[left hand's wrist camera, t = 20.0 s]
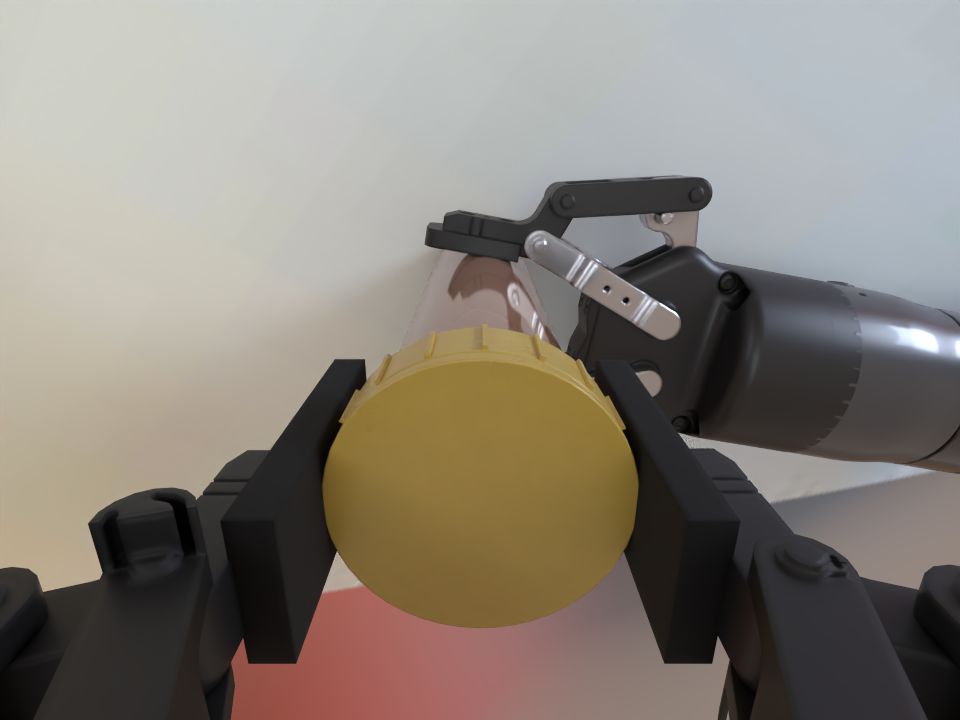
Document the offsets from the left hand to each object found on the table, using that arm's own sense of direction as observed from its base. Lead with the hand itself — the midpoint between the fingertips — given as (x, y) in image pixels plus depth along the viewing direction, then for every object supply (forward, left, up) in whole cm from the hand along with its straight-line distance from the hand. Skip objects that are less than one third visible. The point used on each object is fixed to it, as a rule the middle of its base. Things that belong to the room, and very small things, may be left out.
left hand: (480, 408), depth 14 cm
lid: (0, 0, +4) cm, 4 cm away
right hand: (-1, +2, -9) cm, 10 cm away
